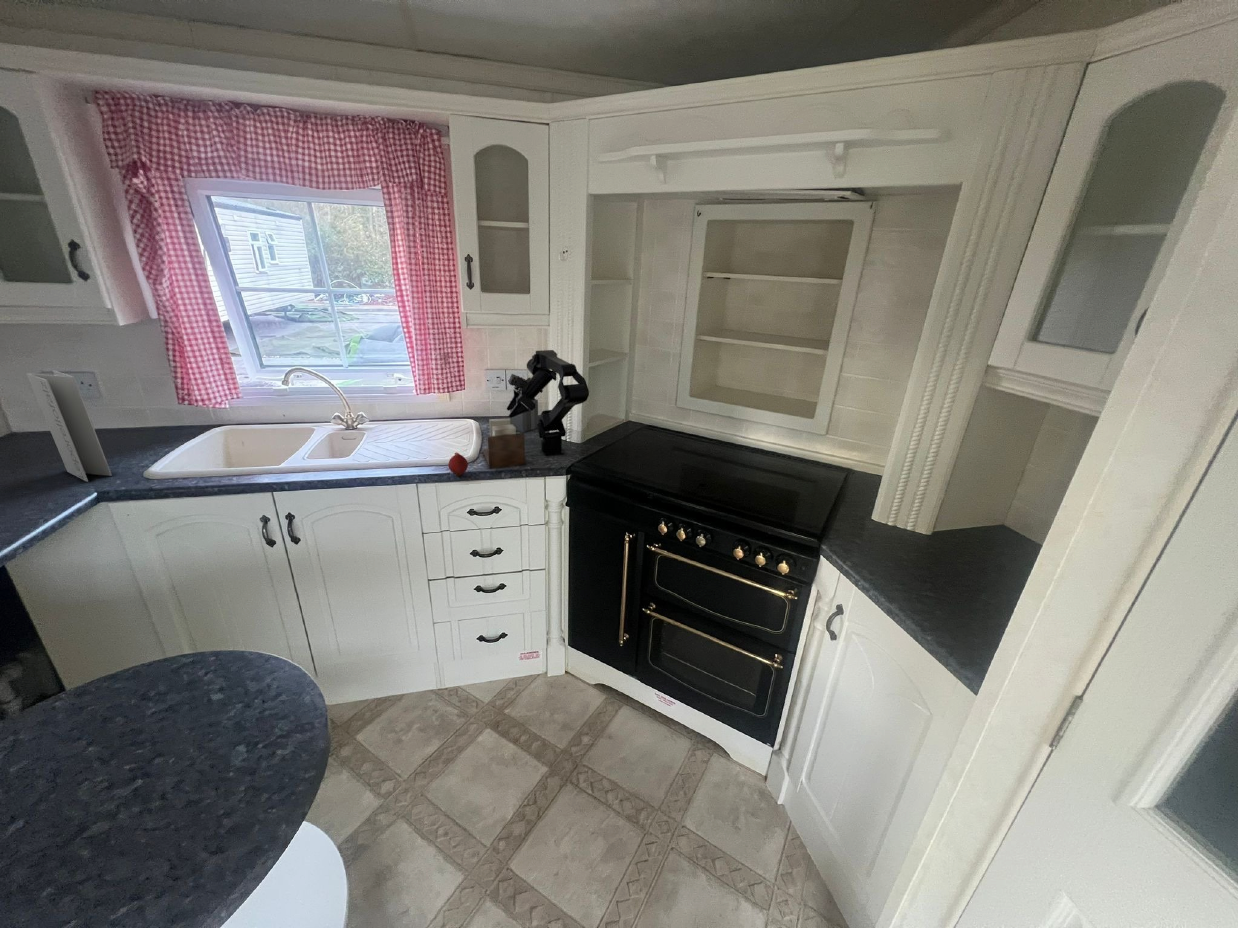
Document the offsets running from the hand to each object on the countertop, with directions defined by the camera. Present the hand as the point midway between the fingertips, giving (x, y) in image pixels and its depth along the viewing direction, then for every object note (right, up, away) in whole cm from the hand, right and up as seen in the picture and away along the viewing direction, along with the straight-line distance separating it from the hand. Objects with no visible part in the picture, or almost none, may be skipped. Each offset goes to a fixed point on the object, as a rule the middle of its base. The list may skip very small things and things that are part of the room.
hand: (508, 413), depth 178 cm
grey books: (+1, -3, +28) cm, 28 cm away
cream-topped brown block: (-1, -16, -4) cm, 17 cm away
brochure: (-120, -21, -28) cm, 126 cm away
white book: (-2, -14, -1) cm, 14 cm away
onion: (-11, -22, -19) cm, 32 cm away
